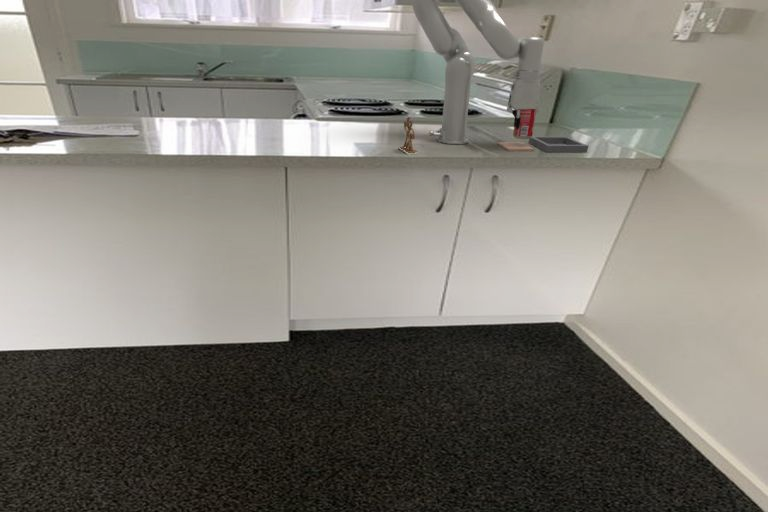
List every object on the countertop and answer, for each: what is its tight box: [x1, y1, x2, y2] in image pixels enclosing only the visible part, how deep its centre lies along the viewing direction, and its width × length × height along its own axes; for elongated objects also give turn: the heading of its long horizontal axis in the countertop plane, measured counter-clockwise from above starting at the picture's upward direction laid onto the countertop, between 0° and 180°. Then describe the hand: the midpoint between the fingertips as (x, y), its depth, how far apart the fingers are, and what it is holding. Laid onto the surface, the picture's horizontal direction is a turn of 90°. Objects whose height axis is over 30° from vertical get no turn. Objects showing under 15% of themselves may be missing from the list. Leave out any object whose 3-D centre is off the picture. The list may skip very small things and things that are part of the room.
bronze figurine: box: [399, 116, 418, 153], centre depth 148 cm, size 9×4×12 cm, turn 21°
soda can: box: [512, 107, 538, 140], centre depth 158 cm, size 7×7×13 cm
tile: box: [497, 141, 534, 152], centre depth 161 cm, size 10×11×1 cm
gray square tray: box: [528, 136, 589, 153], centre depth 163 cm, size 16×16×2 cm
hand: (518, 128), depth 158 cm, fingers closed
